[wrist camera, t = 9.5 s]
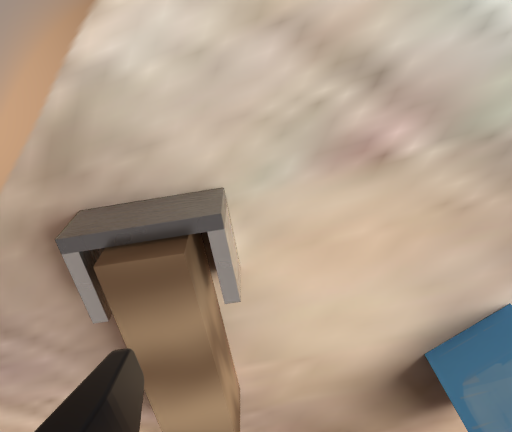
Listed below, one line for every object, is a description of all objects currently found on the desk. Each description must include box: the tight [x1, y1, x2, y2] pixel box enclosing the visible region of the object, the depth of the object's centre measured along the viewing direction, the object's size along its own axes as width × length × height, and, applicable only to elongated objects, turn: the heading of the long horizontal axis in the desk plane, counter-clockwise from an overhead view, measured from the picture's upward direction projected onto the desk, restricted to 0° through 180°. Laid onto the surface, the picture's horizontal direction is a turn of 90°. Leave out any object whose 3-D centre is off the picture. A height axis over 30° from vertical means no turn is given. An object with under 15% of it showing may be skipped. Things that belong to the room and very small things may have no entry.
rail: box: [93, 233, 240, 432], centre depth 21 cm, size 14×4×4 cm, turn 9°
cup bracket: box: [55, 188, 241, 324], centre depth 19 cm, size 5×8×3 cm, turn 99°
